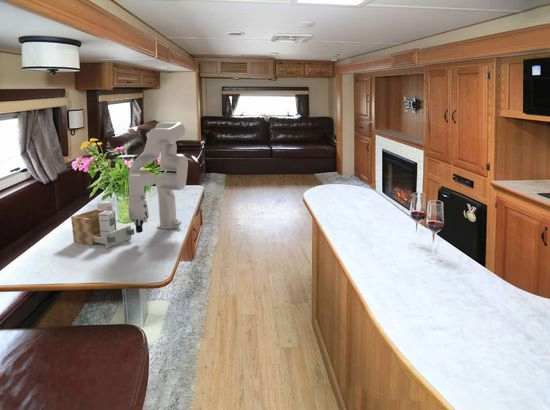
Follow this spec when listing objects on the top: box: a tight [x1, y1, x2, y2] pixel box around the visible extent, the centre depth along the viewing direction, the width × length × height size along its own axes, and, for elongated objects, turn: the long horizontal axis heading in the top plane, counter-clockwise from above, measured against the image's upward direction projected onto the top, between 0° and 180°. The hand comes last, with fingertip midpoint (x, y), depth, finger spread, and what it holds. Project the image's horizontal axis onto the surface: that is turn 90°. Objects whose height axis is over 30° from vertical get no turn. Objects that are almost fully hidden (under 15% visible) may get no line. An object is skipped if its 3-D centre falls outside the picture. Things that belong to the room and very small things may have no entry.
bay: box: [70, 208, 117, 246], centre depth 271 cm, size 13×18×14 cm
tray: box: [93, 225, 135, 249], centre depth 266 cm, size 16×18×7 cm
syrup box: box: [99, 210, 117, 238], centre depth 263 cm, size 6×6×14 cm
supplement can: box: [97, 200, 114, 211], centre depth 293 cm, size 8×8×15 cm
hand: (139, 232), depth 266 cm, fingers closed
